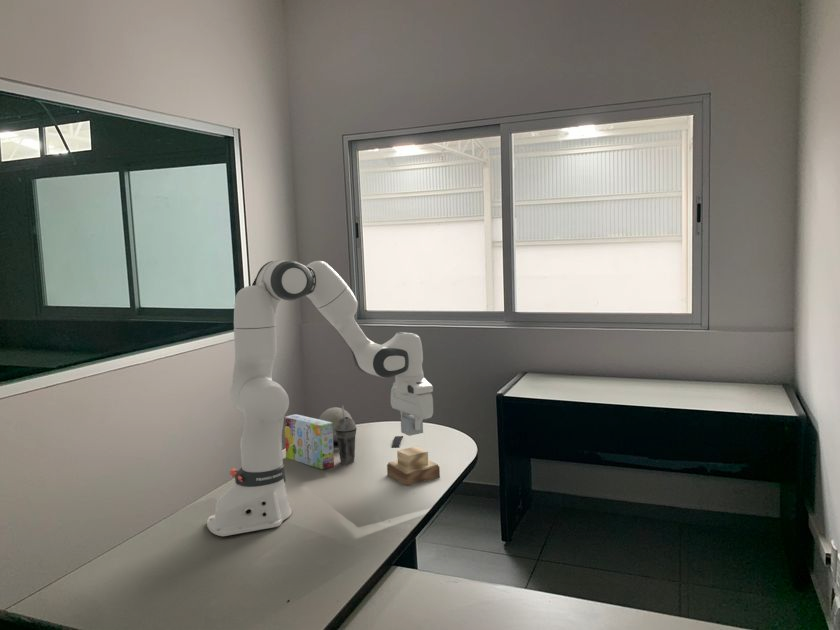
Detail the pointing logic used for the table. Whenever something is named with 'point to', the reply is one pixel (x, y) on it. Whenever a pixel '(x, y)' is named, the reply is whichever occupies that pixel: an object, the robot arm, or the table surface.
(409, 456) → the oak block
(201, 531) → the table surface
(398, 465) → the plinth
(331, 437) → the snack box
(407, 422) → the grey cube
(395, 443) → the black long flat piece
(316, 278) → the robot arm
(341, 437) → the beverage cup
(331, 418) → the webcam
